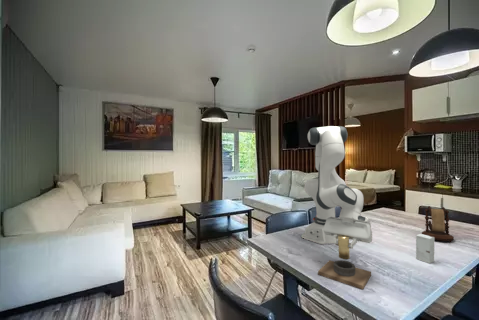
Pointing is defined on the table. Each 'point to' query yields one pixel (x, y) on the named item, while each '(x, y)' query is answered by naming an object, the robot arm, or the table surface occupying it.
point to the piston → (343, 247)
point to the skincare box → (425, 248)
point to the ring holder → (345, 273)
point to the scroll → (438, 224)
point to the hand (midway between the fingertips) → (343, 246)
